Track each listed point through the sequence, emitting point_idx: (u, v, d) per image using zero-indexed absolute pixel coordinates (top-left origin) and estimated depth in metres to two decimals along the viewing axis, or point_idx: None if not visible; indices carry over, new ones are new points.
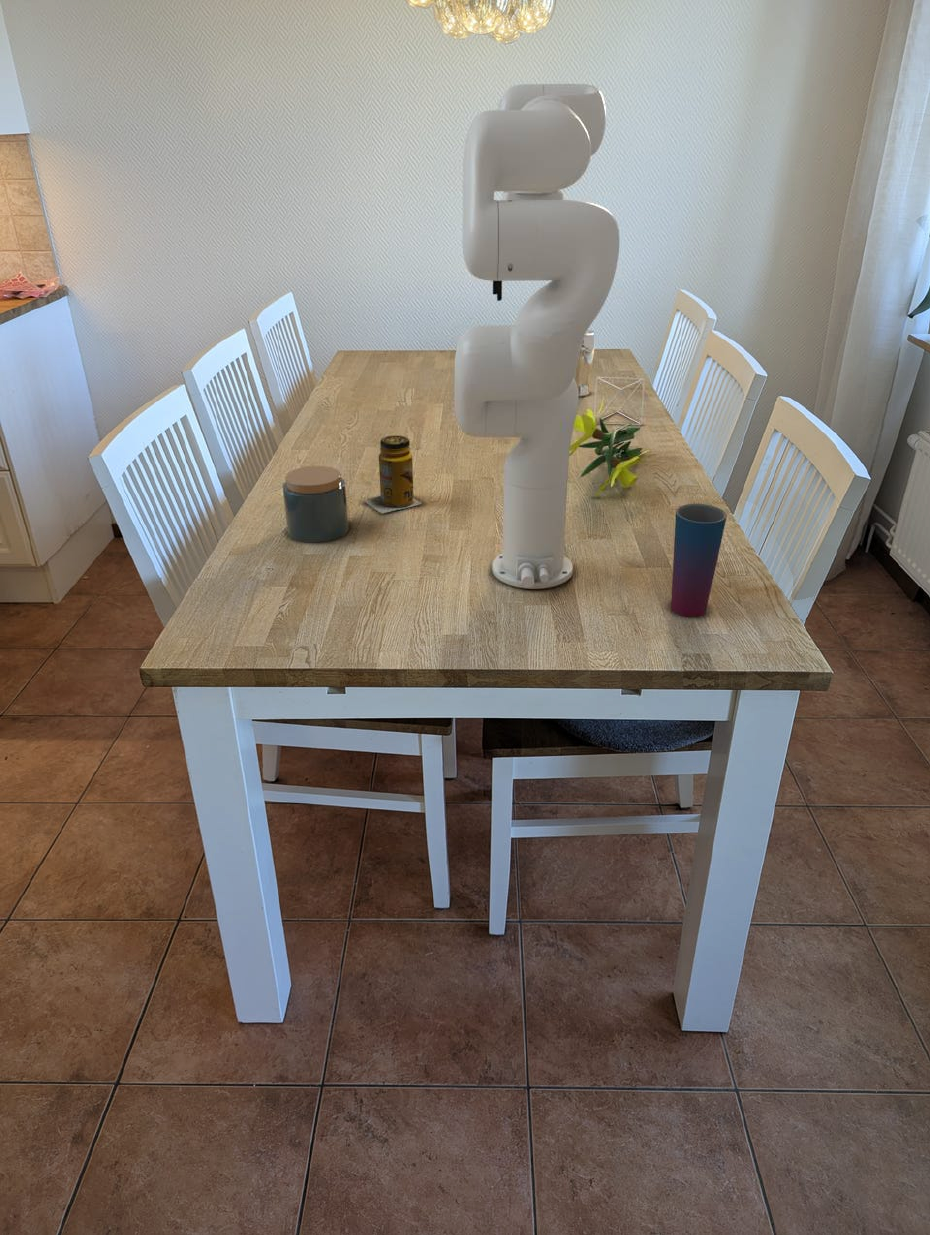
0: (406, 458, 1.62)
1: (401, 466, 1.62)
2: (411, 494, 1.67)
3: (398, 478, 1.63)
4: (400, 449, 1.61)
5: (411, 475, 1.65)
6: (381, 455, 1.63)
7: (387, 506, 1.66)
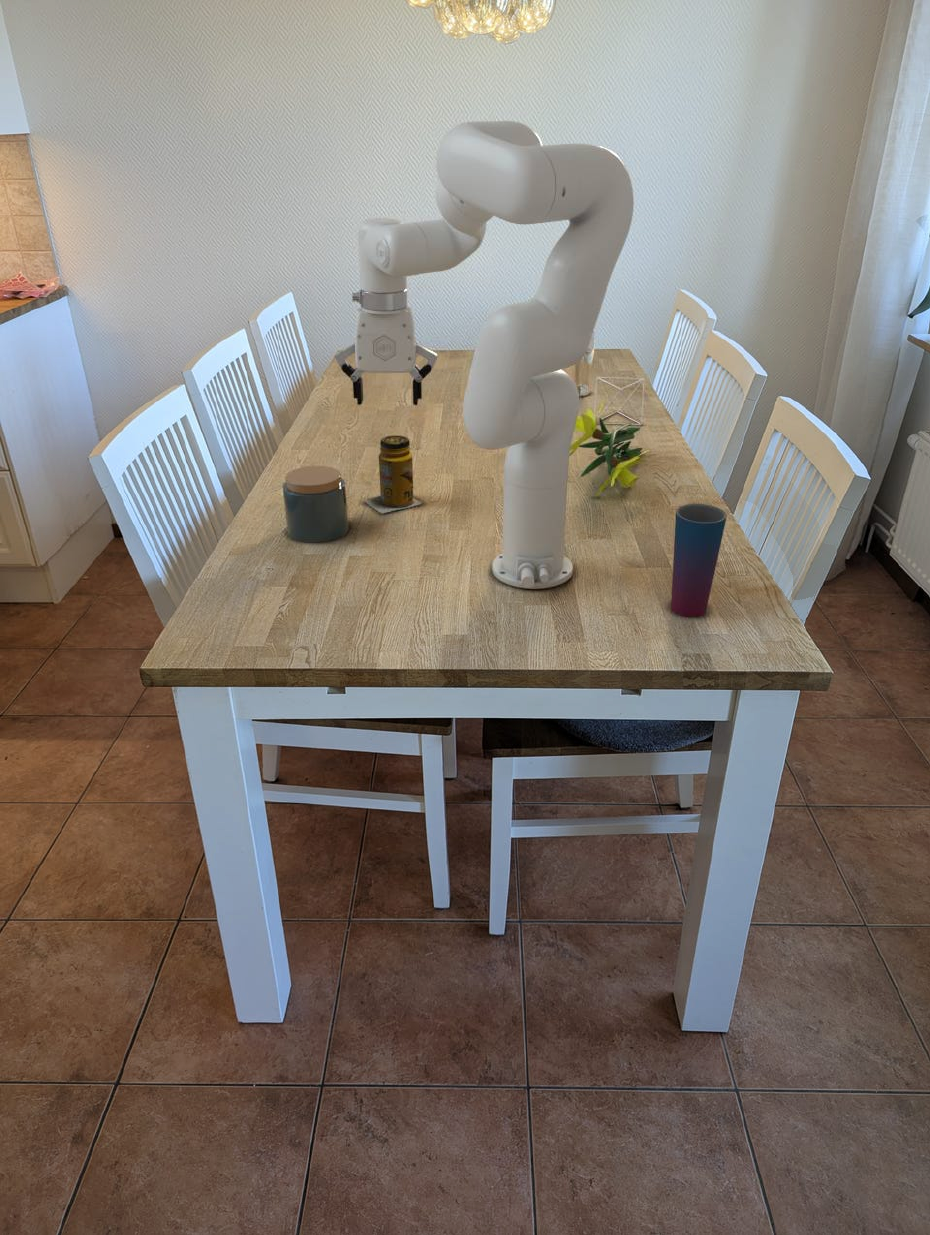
0: (407, 458, 1.62)
1: (401, 466, 1.62)
2: (411, 494, 1.67)
3: (398, 478, 1.63)
4: (400, 449, 1.61)
5: (411, 475, 1.65)
6: (381, 455, 1.63)
7: (387, 506, 1.66)
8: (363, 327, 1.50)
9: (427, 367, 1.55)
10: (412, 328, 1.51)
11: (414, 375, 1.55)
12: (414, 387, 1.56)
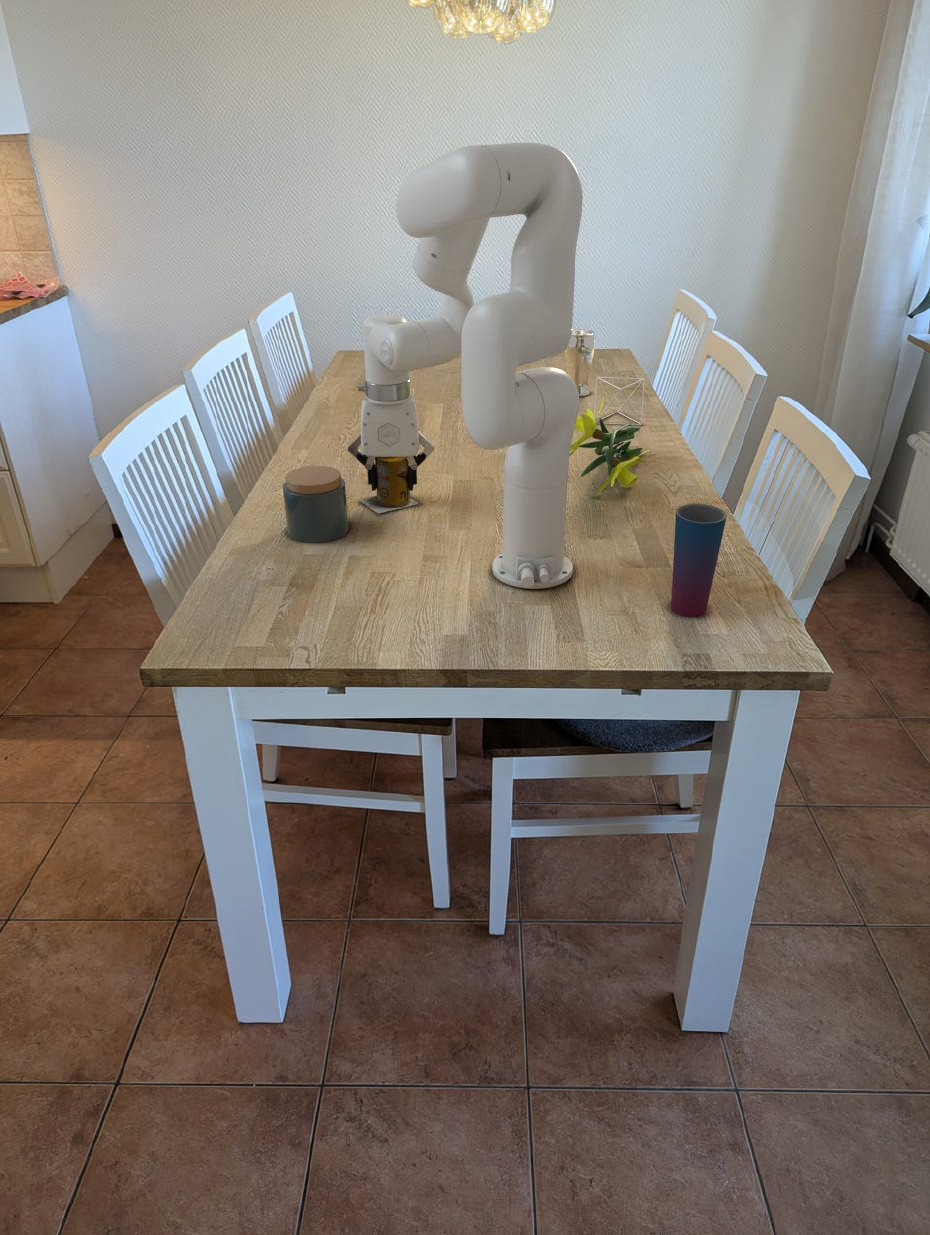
0: (403, 458, 1.62)
1: (397, 466, 1.62)
2: (408, 494, 1.67)
3: (395, 478, 1.63)
4: None
5: (407, 475, 1.65)
6: None
7: (383, 506, 1.66)
8: (368, 416, 1.58)
9: (422, 456, 1.63)
10: (415, 416, 1.58)
11: (410, 462, 1.63)
12: (409, 474, 1.64)
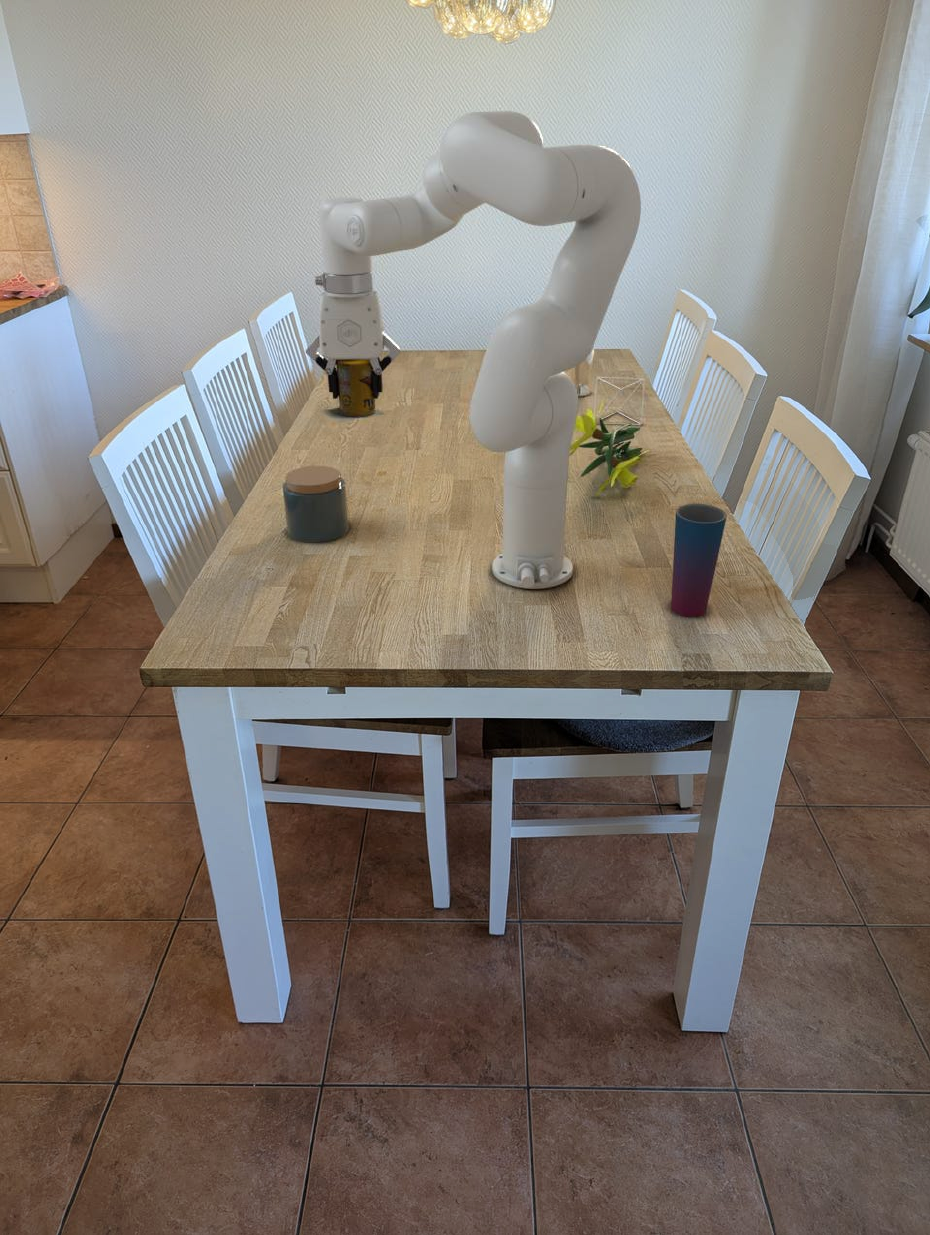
0: (366, 361, 1.49)
1: (359, 370, 1.49)
2: (372, 403, 1.53)
3: (357, 383, 1.50)
4: None
5: None
6: None
7: (345, 415, 1.53)
8: (327, 311, 1.44)
9: (386, 359, 1.49)
10: (378, 312, 1.45)
11: (374, 366, 1.50)
12: (373, 380, 1.50)
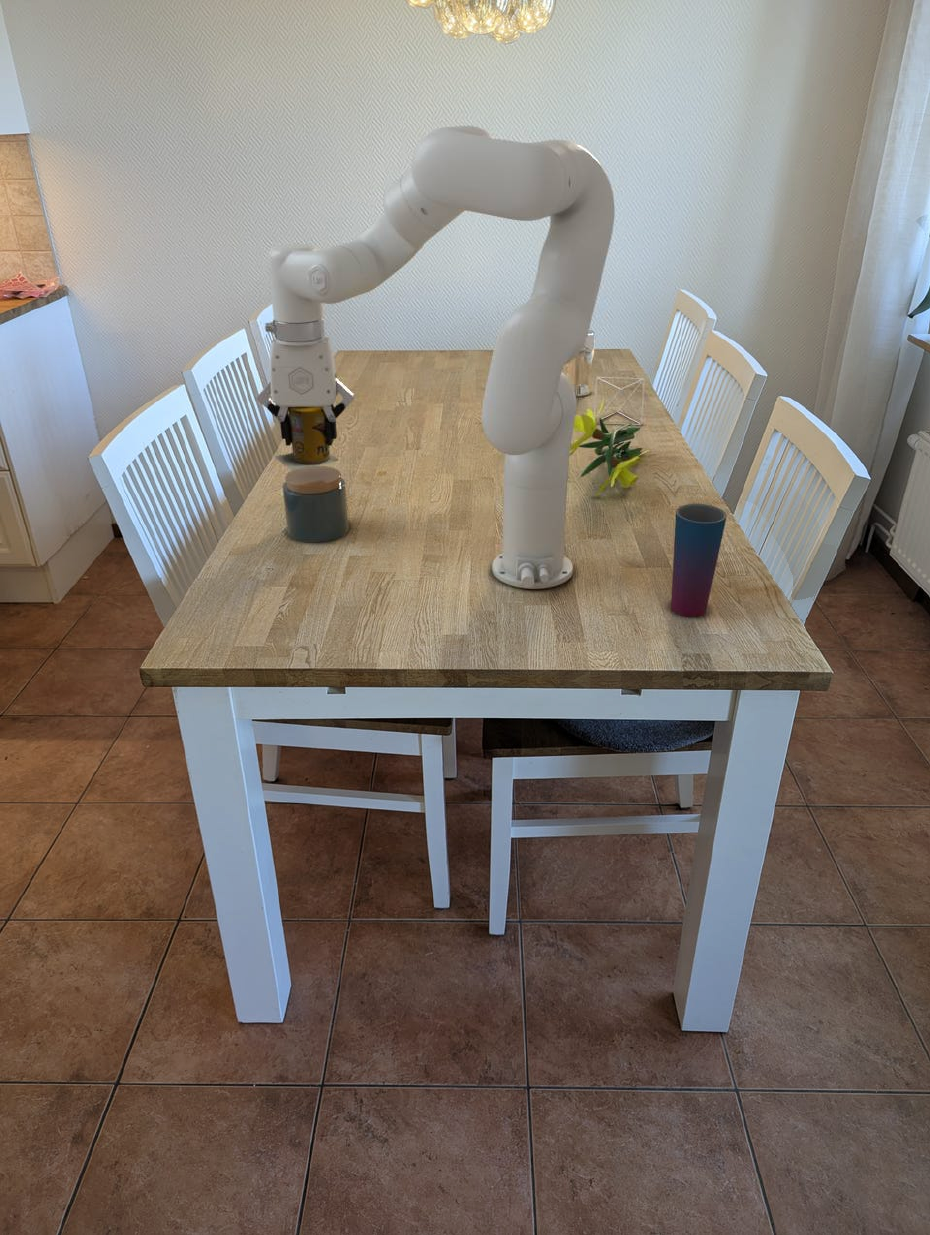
0: (319, 408, 1.46)
1: (312, 417, 1.46)
2: (326, 450, 1.50)
3: (310, 430, 1.46)
4: None
5: (325, 428, 1.48)
6: None
7: (299, 462, 1.50)
8: (277, 359, 1.41)
9: (340, 406, 1.46)
10: (330, 359, 1.42)
11: (327, 413, 1.46)
12: (327, 427, 1.47)
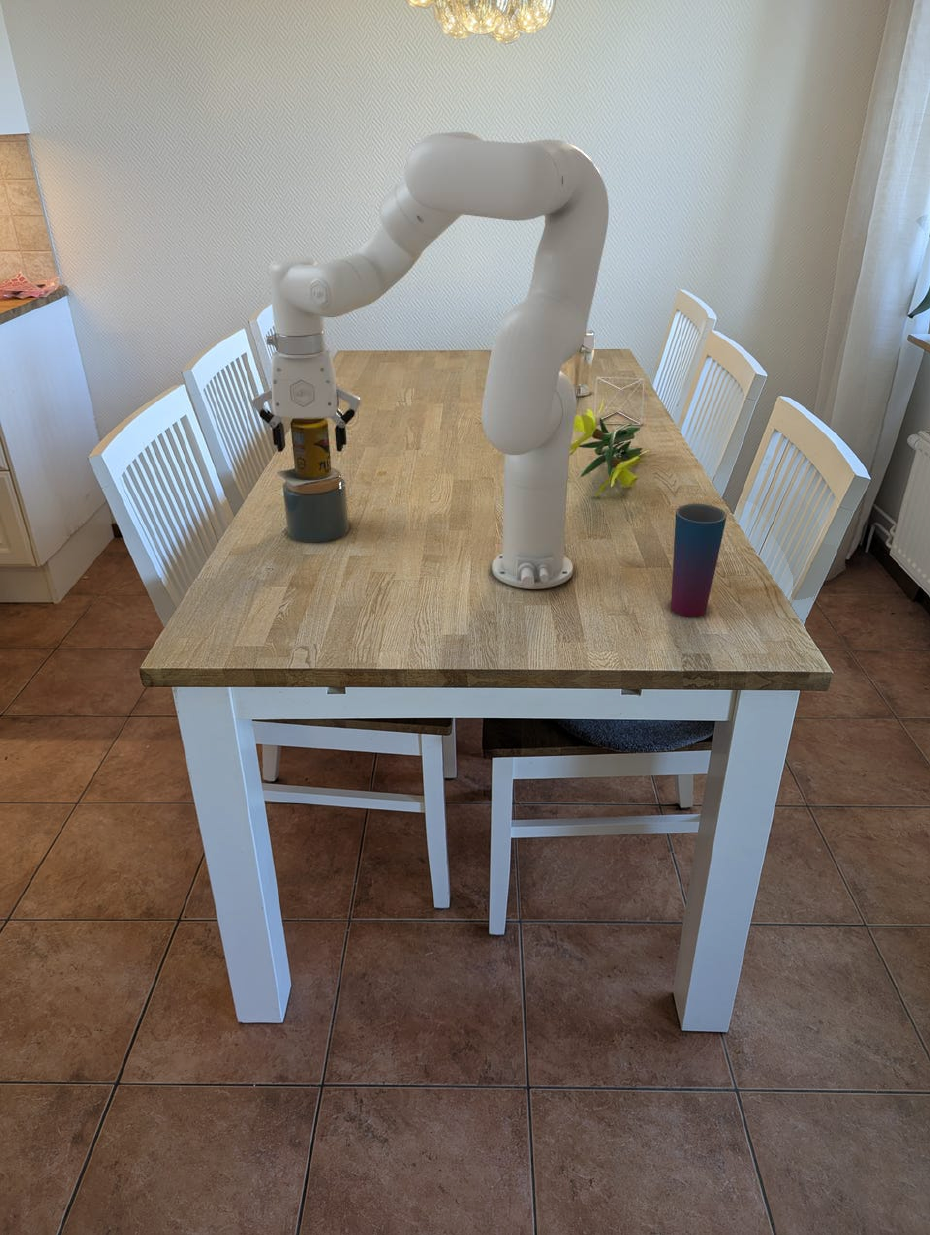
0: (320, 424, 1.47)
1: (314, 433, 1.47)
2: (328, 465, 1.51)
3: (312, 447, 1.48)
4: None
5: (327, 444, 1.50)
6: (292, 421, 1.47)
7: (301, 478, 1.51)
8: (279, 372, 1.42)
9: (350, 412, 1.47)
10: (331, 372, 1.43)
11: (336, 420, 1.47)
12: (337, 433, 1.48)
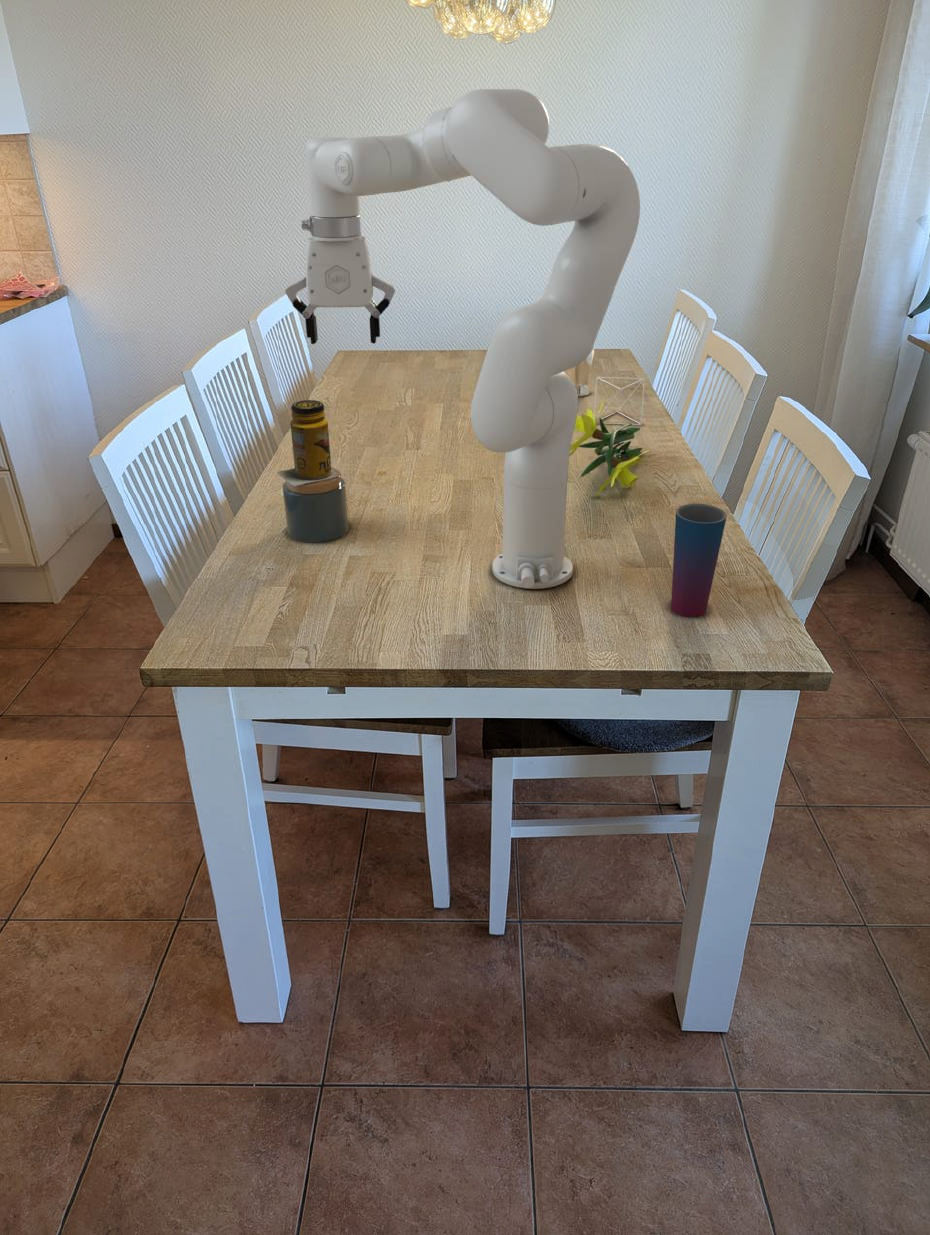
0: (320, 424, 1.47)
1: (314, 433, 1.47)
2: (328, 465, 1.51)
3: (312, 447, 1.48)
4: (313, 415, 1.46)
5: (327, 444, 1.50)
6: (292, 421, 1.47)
7: (301, 478, 1.51)
8: (314, 257, 1.40)
9: (384, 301, 1.45)
10: (367, 257, 1.41)
11: (371, 310, 1.45)
12: (371, 323, 1.46)
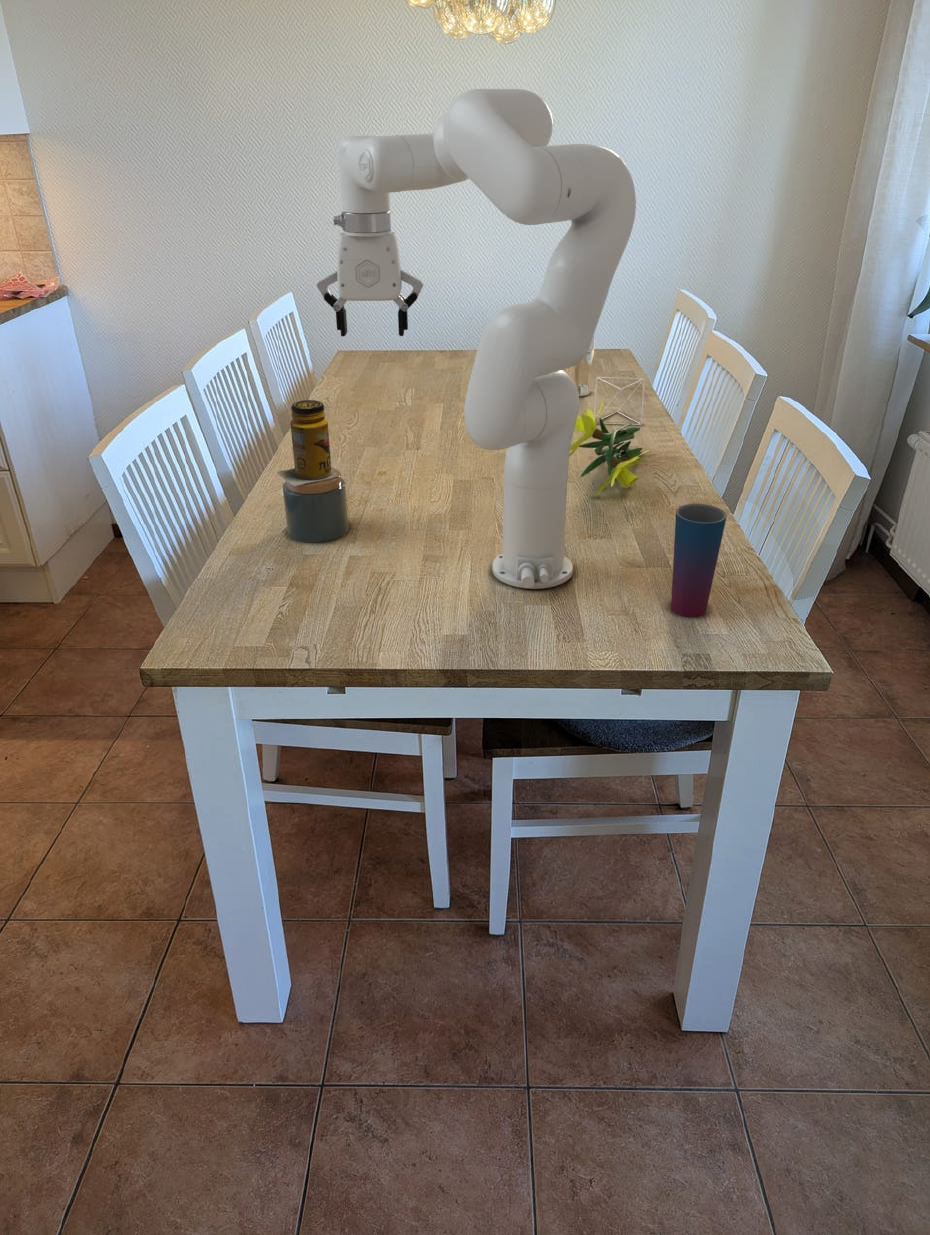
0: (320, 424, 1.47)
1: (314, 433, 1.47)
2: (328, 465, 1.51)
3: (312, 447, 1.48)
4: (313, 415, 1.46)
5: (327, 444, 1.50)
6: (292, 421, 1.47)
7: (301, 478, 1.51)
8: (345, 251, 1.44)
9: (413, 295, 1.49)
10: (396, 252, 1.45)
11: (399, 304, 1.49)
12: (399, 316, 1.50)
